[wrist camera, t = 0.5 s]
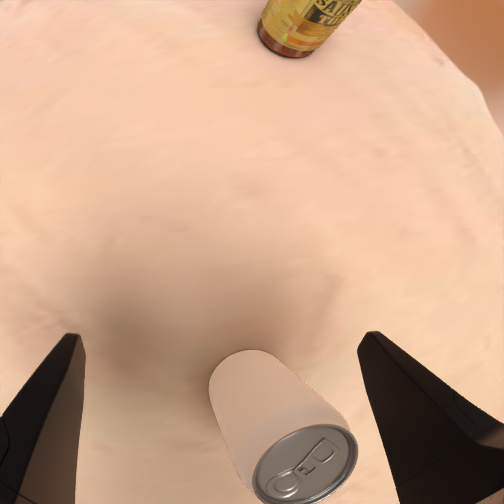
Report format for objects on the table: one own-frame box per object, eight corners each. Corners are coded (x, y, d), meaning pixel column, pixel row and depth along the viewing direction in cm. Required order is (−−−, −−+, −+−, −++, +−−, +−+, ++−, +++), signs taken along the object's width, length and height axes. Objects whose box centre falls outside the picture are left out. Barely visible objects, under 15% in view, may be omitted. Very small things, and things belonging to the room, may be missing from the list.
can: (190, 387, 23) (214, 484, 12) (250, 331, 24) (320, 391, 13) (245, 432, 24) (298, 527, 13) (300, 381, 25) (384, 451, 14)
